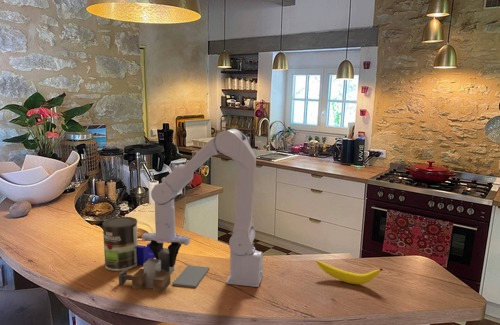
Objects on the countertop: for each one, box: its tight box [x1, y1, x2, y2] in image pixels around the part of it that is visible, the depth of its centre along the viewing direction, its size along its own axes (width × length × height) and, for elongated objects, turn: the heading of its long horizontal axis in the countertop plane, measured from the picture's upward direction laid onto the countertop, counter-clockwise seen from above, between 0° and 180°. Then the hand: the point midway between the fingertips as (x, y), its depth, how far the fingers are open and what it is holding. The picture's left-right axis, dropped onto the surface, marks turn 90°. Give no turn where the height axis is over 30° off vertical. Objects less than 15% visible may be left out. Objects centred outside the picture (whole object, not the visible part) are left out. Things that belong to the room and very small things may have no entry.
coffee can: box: [101, 216, 139, 272], centre depth 115 cm, size 10×10×14 cm
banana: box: [315, 259, 383, 285], centre depth 106 cm, size 3×19×6 cm, turn 64°
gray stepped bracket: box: [158, 247, 175, 276], centre depth 109 cm, size 4×8×7 cm, turn 168°
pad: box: [172, 264, 210, 289], centre depth 108 cm, size 7×12×1 cm, turn 168°
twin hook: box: [142, 258, 161, 289], centre depth 108 cm, size 7×13×7 cm, turn 168°
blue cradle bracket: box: [136, 241, 156, 266], centre depth 121 cm, size 12×4×6 cm, turn 164°
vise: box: [118, 268, 171, 293], centre depth 103 cm, size 14×5×4 cm, turn 78°
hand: (166, 264), depth 111 cm, fingers closed on gray stepped bracket, 3 cm apart
